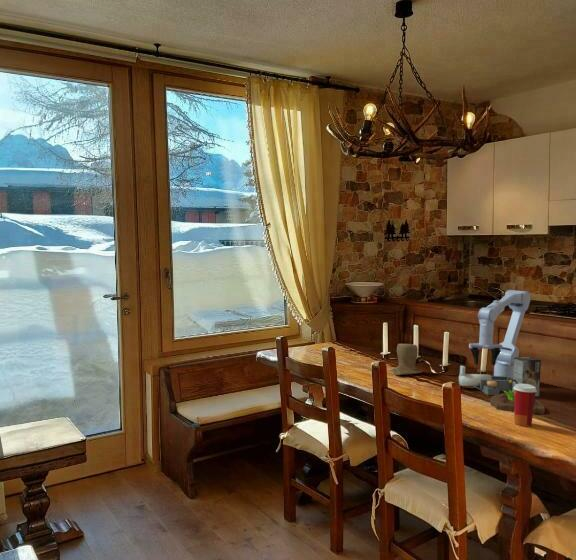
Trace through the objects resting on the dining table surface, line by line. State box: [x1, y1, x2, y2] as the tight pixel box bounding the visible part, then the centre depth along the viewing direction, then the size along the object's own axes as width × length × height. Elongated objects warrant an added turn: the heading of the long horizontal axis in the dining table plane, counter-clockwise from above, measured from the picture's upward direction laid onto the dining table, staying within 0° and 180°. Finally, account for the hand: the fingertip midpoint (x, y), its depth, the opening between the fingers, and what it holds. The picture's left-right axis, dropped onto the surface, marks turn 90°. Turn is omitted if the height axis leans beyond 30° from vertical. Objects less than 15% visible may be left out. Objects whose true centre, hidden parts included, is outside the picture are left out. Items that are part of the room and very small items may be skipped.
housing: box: [473, 375, 513, 397], centre depth 248 cm, size 15×16×5 cm
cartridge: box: [458, 365, 492, 387], centre depth 250 cm, size 5×13×9 cm, turn 92°
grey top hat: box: [391, 343, 423, 376], centre depth 275 cm, size 15×12×15 cm
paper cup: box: [513, 384, 537, 428], centre depth 201 cm, size 8×8×14 cm
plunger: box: [487, 381, 497, 388], centre depth 242 cm, size 4×4×5 cm
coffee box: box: [512, 356, 542, 397], centre depth 242 cm, size 9×6×16 cm
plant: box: [490, 379, 546, 415], centre depth 225 cm, size 20×20×11 cm
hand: (484, 364), depth 253 cm, fingers open, 7 cm apart
